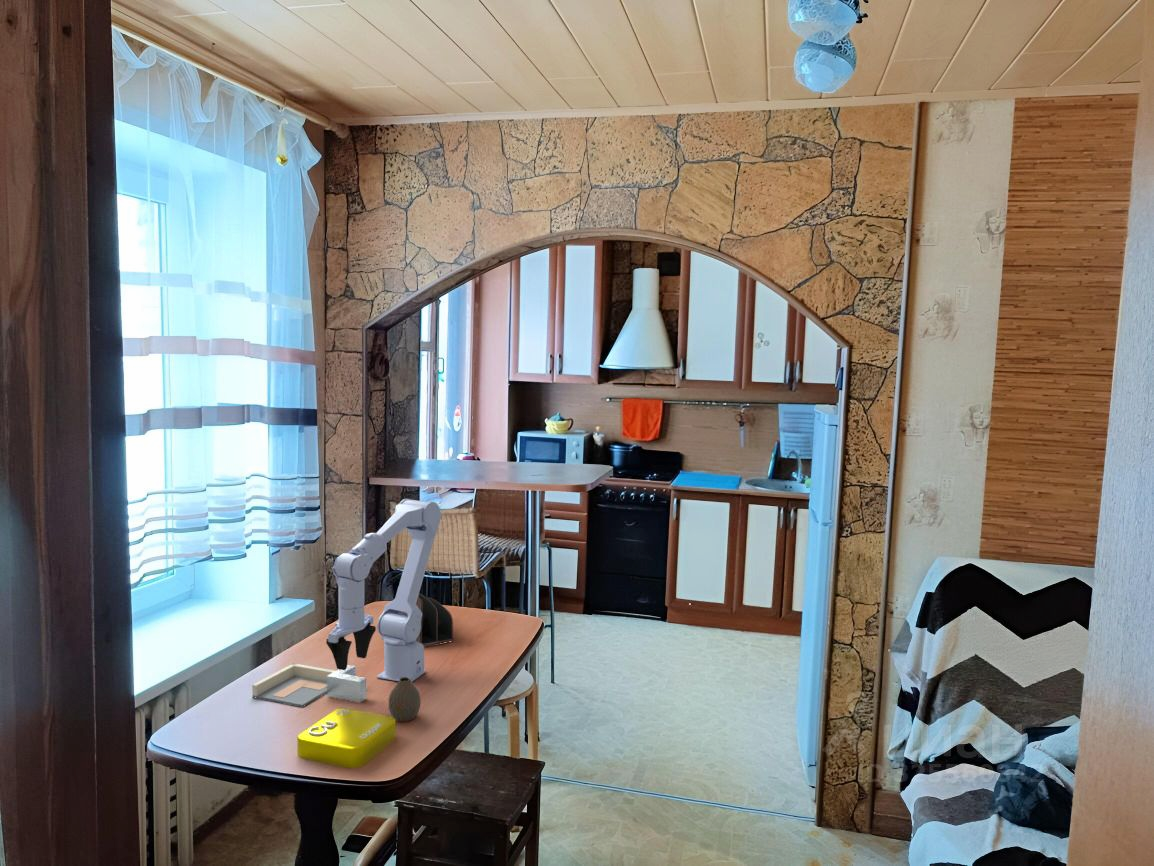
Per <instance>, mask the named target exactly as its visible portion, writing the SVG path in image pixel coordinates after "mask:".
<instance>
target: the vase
mask: <svg viewBox="0 0 1154 866" xmlns="http://www.w3.org/2000/svg"><path fill="white" fill-rule="evenodd" d="M421 701H422V699H421V694H420V691H419V689H418V688H417V686H416V685H415V684H414V683H413V681H412V682H411V680H410V678H408V677H403V678H400V679H399V681H397V683H396V685H395V686H394V687H393V689H392V690H391V692H390V694H389V696H388V710H389V713H390V715H391V717H394V718H395V719H396V721H397V720H398V721H397V722H401V721H405V722H409V720H410V721H411V720H413V719H414V718H415V717H416V716H417V715H418V713H419V711H420V708H421V704H422V702H421Z"/></svg>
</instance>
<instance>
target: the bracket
mask: <svg viewBox="0 0 1154 866" xmlns="http://www.w3.org/2000/svg"><path fill="white" fill-rule="evenodd" d="M327 696H329V697H328V698H331V697H335V698H334V699H336V698H340V699H339V700H341V699H345V700H344V701H347V700H349V701H348V702H352V701H356V702H355V703H357V702H361V701H362V702H364V701H365V700H366V699H367V677H365V676H364V677H363V676H358V675H356V665H351V664H347V668H346V670H340V669H336V670H335V672H333V673H331V674H330V675H328V676H327V693H326V697H327ZM365 698H366V699H365ZM364 699H365V700H364ZM363 700H364V701H363ZM362 702H361V703H362Z"/></svg>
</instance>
